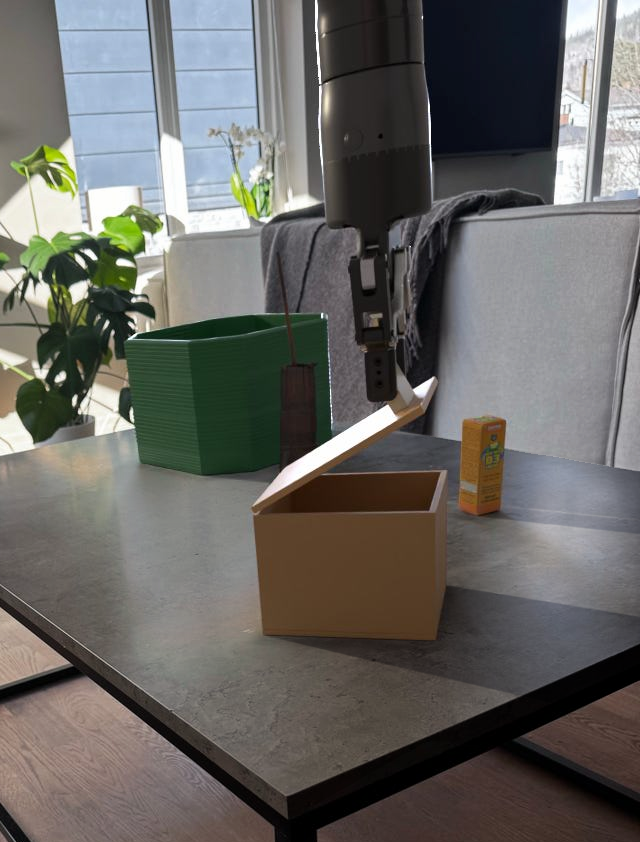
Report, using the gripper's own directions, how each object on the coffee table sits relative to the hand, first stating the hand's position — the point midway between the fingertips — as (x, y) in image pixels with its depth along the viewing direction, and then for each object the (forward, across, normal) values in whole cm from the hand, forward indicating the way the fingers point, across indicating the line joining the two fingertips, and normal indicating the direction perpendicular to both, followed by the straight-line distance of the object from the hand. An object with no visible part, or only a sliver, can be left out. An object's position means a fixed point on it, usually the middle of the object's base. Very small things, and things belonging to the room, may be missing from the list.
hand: (387, 392), depth 71 cm
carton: (+18, 0, +4) cm, 19 cm away
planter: (+18, +61, +32) cm, 71 cm away
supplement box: (+19, +28, -6) cm, 34 cm away
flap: (+4, 0, +3) cm, 5 cm away
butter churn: (+18, +42, +16) cm, 49 cm away
